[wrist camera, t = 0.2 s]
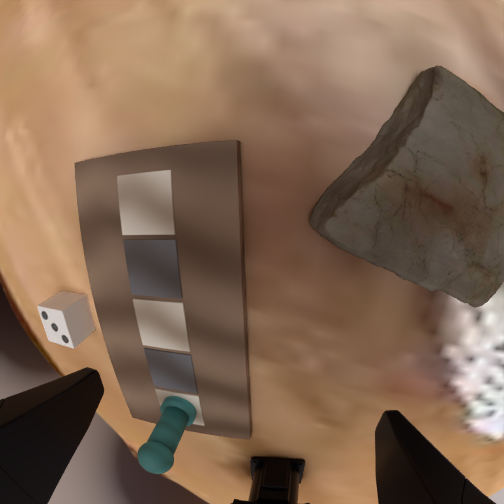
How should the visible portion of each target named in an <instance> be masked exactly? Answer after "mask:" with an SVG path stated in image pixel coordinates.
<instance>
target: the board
mask: <svg viewBox="0 0 504 504" xmlns="http://www.w3.org/2000/svg"><path fill="white" fill-rule="evenodd" d="M75 179H76V193H77V204H78V213H79V222H80V229H81V236H82V243H83V249H84V255H85V261H86V266H87V271H88V276H89V281H90V286H91V290H92V295H93V299H94V303H95V307H96V311H97V315H98V319H99V323H100V326H101V330H102V333H103V337H104V340H105V343H106V347H107V350H108V353H109V356H110V359H111V362H112V365H113V368H114V371H115V374H116V377H117V379H118V382H119V385H120V387H121V390H122V393H123V395H124V398H125V400H126V403H127V405H128V408H129V410H130V412H131V415H132V417H133V418H137V419H140V420H144V421H148V422H151V423H155V424H157V423H158V421H159V419H160V417H161V415H162V414H161V411H160V407H161V405H162V403H163V401H164V399H165V398H166V397H169V396H178V397H181V398H184V399H186V400H187V401H189V402H190V403H192V404H193V406H194V407H195V408H196V411H197V415H196V418H195V420H194V422H193V424H191V425H190V426H186V428H185V430H187V431H192V432H198V433H204V434H210V435H216V436H224V437H231V438H240V439H249V440H250V438H251V433H252V424H251V404H250V384H249V363H248V341H247V318H246V295H245V270H244V244H243V217H242V189H241V158H240V141H237V140H230V141H216V142H204V143H194V144H184V145H175V146H167V147H159V148H152V149H145V150H139V151H133V152H127V153H121V154H115V155H110V156H105V157H100V158H95V159H90V160H85V161H81V162H76V163H75Z"/></svg>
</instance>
